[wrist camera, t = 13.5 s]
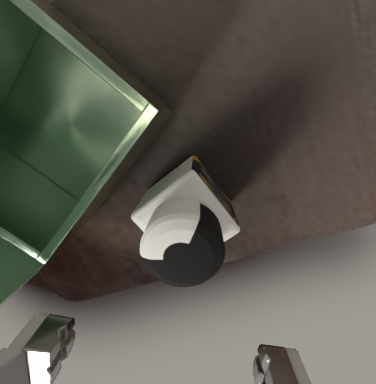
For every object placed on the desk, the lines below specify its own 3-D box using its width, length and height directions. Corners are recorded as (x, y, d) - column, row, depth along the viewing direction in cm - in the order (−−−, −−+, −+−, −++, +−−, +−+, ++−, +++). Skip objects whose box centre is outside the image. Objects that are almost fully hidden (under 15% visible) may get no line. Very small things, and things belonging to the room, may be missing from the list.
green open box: (51, 2, 21) (-64, -82, 12) (174, 111, 24) (159, 110, 15) (-16, 135, 25) (-137, 149, 16) (95, 214, 28) (44, 264, 19)
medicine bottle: (231, 201, 27) (255, 268, 15) (183, 233, 28) (173, 314, 17) (194, 153, 25) (190, 188, 14) (145, 190, 27) (107, 249, 16)
